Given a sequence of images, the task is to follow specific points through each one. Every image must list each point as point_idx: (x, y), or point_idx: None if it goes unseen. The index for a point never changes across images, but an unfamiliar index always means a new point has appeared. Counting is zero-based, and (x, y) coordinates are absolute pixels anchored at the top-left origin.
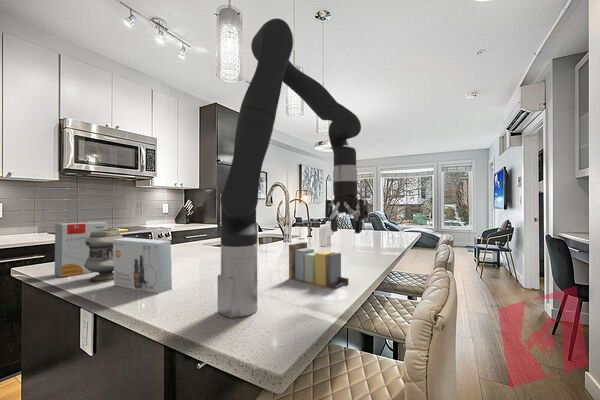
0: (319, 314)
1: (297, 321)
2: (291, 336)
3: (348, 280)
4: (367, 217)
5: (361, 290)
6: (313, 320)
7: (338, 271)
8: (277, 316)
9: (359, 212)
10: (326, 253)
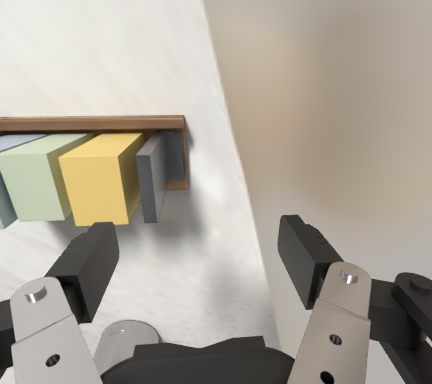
0: (235, 276)
1: (226, 309)
2: (249, 334)
3: (182, 119)
4: (428, 284)
5: (224, 111)
6: (241, 294)
7: (161, 154)
8: (191, 317)
9: (368, 319)
10: (113, 203)
